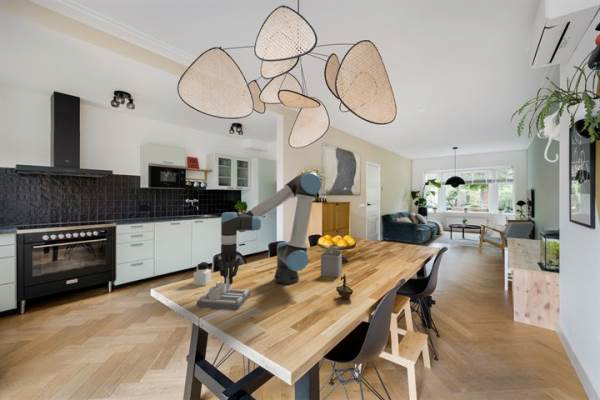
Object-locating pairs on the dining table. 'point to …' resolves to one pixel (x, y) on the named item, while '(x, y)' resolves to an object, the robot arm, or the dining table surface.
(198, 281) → the medicine bottle
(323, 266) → the planter
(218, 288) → the fader
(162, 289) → the dining table surface
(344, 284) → the figurine
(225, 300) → the grey compartment tray
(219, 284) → the white taped box
